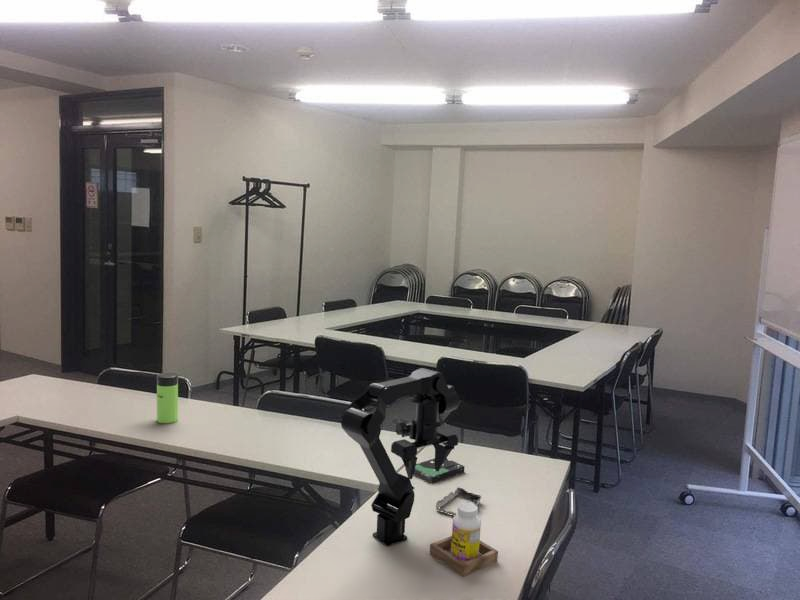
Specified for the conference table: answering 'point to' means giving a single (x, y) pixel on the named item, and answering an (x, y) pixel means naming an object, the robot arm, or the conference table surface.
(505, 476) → the conference table surface
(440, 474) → the disk drive
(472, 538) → the supplement bottle
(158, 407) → the tumbler
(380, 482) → the robot arm
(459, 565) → the brown wooden square frame
